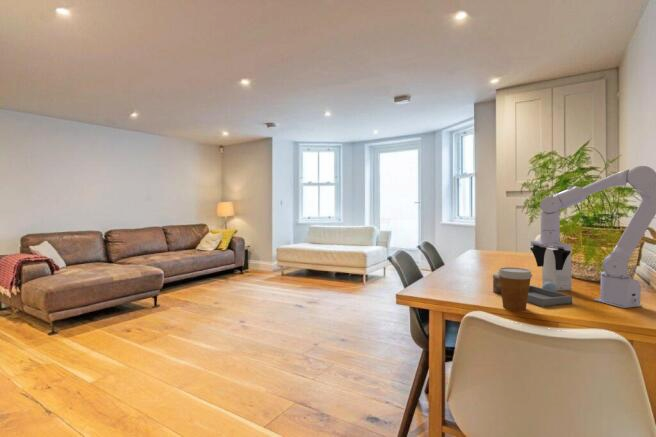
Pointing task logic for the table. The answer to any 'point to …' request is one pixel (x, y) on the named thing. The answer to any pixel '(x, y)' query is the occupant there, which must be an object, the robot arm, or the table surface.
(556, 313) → the table surface
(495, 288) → the shaker
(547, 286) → the ball
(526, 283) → the disposable coffee cup
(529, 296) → the tray
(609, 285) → the robot arm
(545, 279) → the skincare box
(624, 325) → the table surface
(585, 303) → the table surface
